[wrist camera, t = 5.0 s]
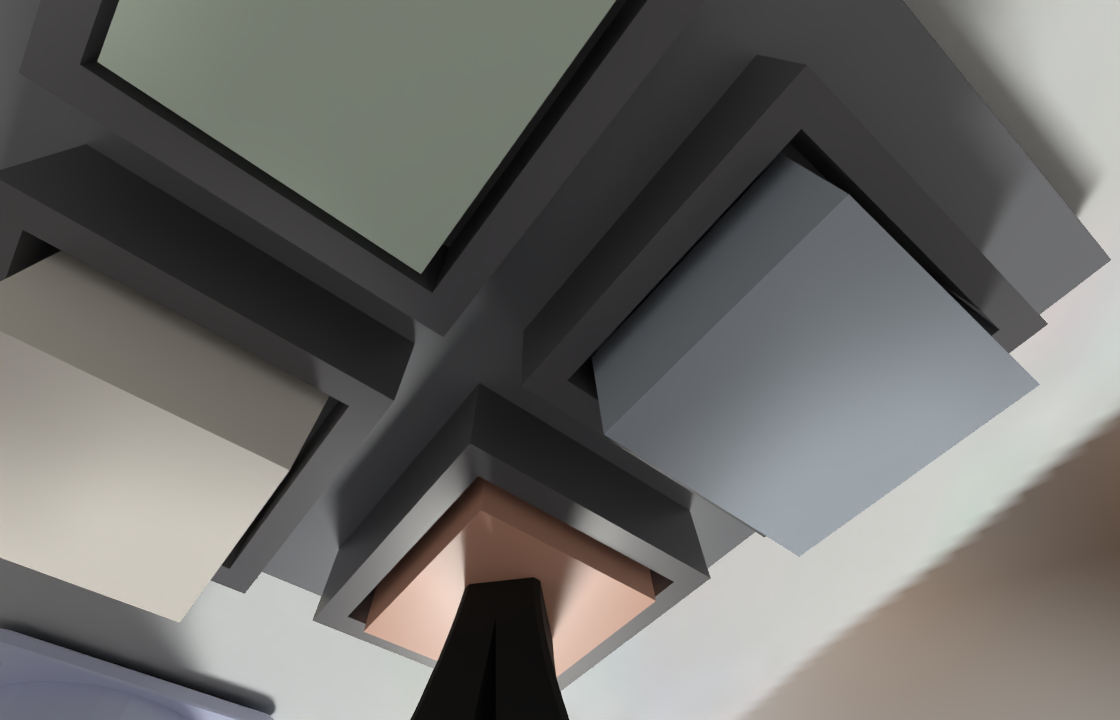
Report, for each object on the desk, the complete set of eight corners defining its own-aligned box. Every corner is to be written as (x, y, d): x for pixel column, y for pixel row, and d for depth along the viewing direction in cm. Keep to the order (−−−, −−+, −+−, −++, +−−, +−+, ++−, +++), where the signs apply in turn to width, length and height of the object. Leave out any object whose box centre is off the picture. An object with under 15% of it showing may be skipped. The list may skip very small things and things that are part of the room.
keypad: (548, 655, 17) (550, 760, 15) (-84, 380, 12) (-242, 475, 9) (1066, 240, 11) (1213, 304, 9) (246, -743, 6) (26, -1313, 3)
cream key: (234, 528, 11) (179, 622, 9) (1, 427, 10) (-114, 516, 8) (333, 387, 10) (289, 470, 8) (72, 244, 8) (-50, 307, 7)
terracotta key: (530, 616, 14) (529, 698, 13) (386, 549, 13) (363, 631, 11) (640, 521, 13) (656, 600, 11) (489, 435, 11) (481, 510, 10)
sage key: (442, 225, 9) (421, 274, 8) (191, 49, 8) (97, 61, 6) (604, -6, 8) (624, -12, 6) (328, -274, 6) (253, -376, 5)
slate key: (757, 469, 11) (799, 556, 9) (591, 356, 9) (603, 434, 8) (946, 315, 9) (1039, 384, 8) (781, 154, 8) (848, 193, 6)
